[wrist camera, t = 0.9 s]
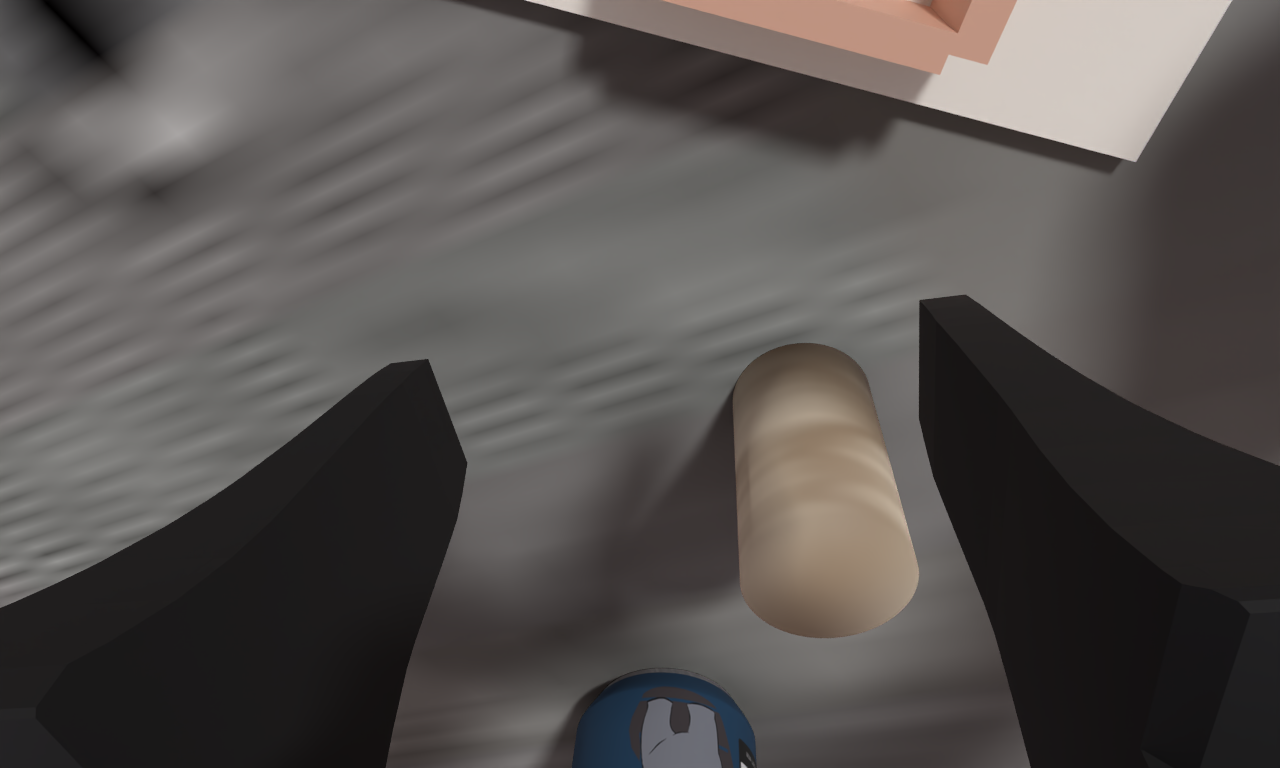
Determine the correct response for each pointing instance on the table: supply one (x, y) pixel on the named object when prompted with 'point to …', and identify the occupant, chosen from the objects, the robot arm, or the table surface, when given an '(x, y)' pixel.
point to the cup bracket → (964, 54)
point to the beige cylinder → (817, 497)
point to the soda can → (664, 724)
